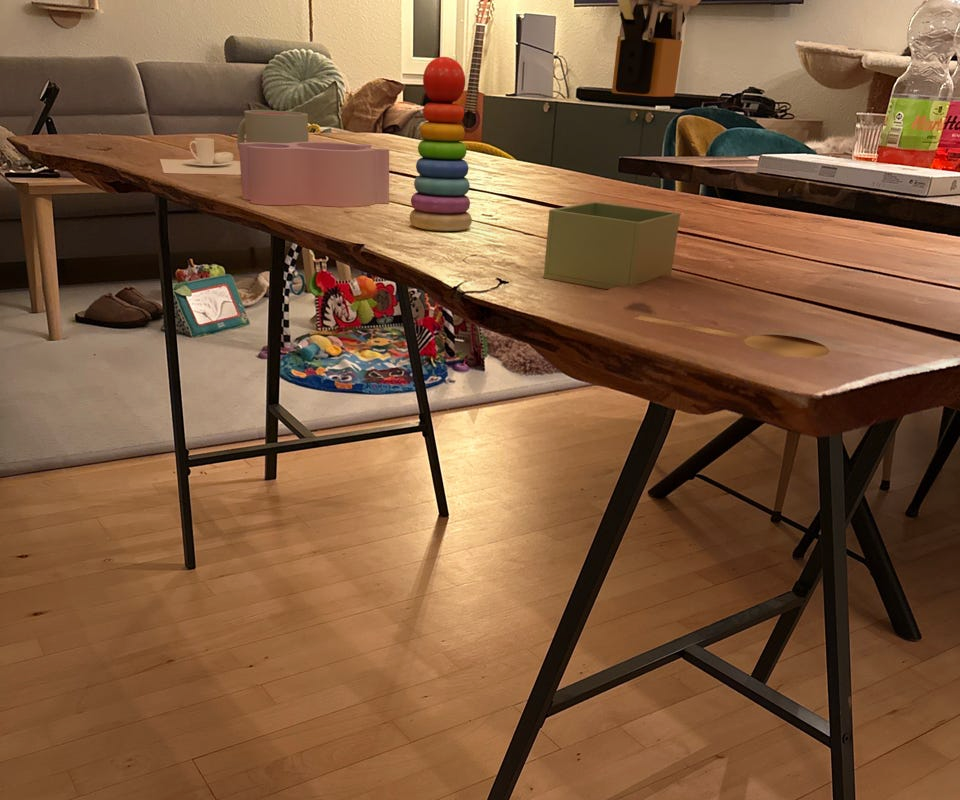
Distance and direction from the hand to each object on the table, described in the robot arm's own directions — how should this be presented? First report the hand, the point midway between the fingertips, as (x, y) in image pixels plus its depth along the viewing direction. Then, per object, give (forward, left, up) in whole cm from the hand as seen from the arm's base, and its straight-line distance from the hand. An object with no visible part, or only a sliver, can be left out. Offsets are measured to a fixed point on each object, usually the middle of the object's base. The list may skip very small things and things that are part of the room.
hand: (644, 90), depth 90 cm
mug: (+72, -26, -18) cm, 79 cm away
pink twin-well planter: (+57, -19, -18) cm, 63 cm away
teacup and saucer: (+92, -36, -18) cm, 101 cm away
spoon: (-17, +15, -17) cm, 29 cm away
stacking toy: (+32, -14, -18) cm, 39 cm away
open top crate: (+2, -1, -17) cm, 18 cm away
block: (0, 0, 0) cm, 0 cm away
